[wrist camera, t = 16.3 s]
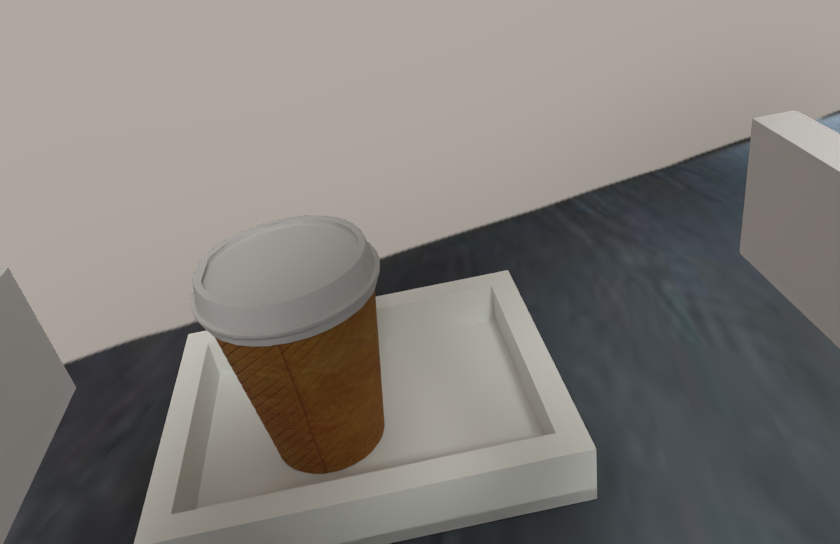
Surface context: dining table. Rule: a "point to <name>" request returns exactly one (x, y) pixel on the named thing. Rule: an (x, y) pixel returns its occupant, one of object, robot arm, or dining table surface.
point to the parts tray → (402, 438)
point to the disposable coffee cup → (300, 334)
